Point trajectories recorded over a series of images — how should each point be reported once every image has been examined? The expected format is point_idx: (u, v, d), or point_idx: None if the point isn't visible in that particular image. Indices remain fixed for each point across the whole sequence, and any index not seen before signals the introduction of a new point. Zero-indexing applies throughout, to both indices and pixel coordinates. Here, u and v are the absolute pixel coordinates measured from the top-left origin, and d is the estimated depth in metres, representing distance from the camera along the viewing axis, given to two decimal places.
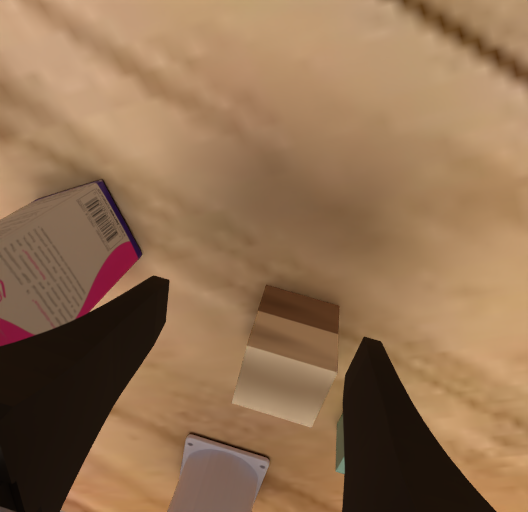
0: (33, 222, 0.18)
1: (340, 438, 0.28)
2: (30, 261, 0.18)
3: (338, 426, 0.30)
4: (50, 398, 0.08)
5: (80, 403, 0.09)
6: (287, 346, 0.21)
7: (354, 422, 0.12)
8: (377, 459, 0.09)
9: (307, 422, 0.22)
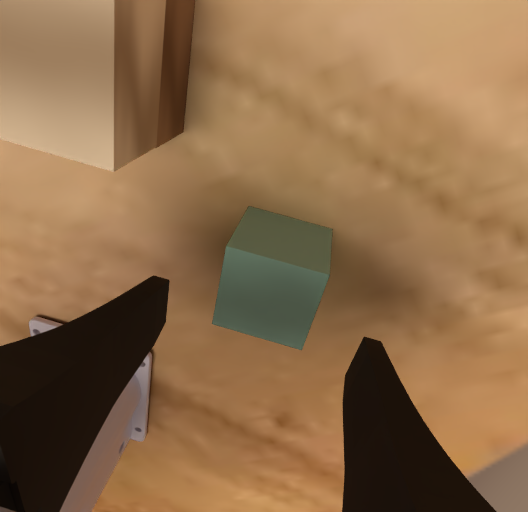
0: None
1: None
2: None
3: None
4: (50, 398, 0.08)
5: (80, 403, 0.09)
6: None
7: (354, 422, 0.12)
8: (377, 459, 0.09)
9: (102, 155, 0.11)
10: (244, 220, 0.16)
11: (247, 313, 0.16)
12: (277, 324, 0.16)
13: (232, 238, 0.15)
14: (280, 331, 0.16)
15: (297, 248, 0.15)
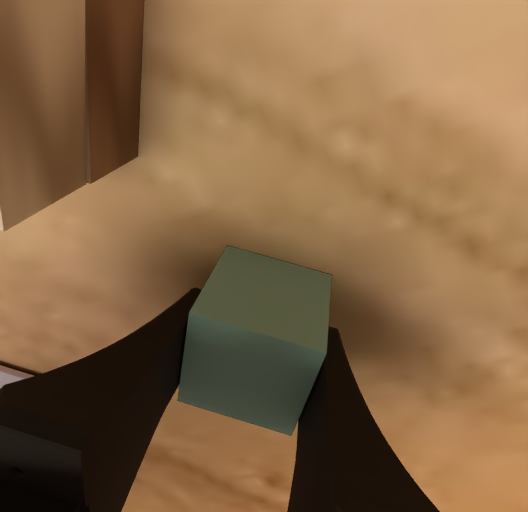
0: None
1: None
2: None
3: None
4: (119, 420, 0.08)
5: (138, 421, 0.09)
6: None
7: (306, 407, 0.12)
8: (317, 441, 0.09)
9: None
10: (218, 269, 0.13)
11: (221, 391, 0.12)
12: (259, 405, 0.12)
13: (199, 299, 0.11)
14: (263, 413, 0.12)
15: (286, 309, 0.12)
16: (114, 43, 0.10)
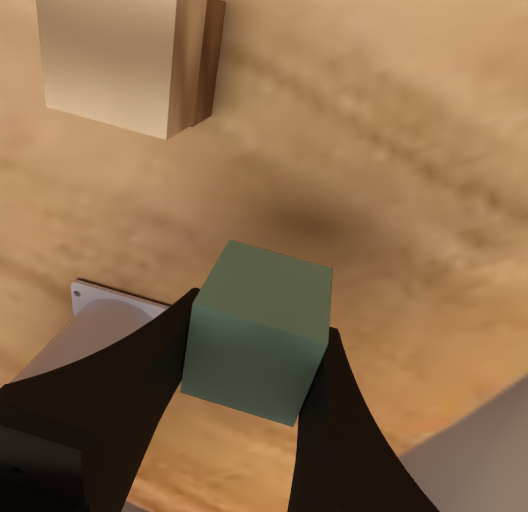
0: None
1: None
2: None
3: None
4: (119, 420, 0.08)
5: (138, 421, 0.09)
6: None
7: (306, 407, 0.12)
8: (317, 440, 0.09)
9: (158, 127, 0.14)
10: (221, 262, 0.13)
11: (224, 382, 0.12)
12: (261, 396, 0.12)
13: (202, 291, 0.11)
14: (265, 404, 0.12)
15: (288, 301, 0.12)
16: (210, 40, 0.16)
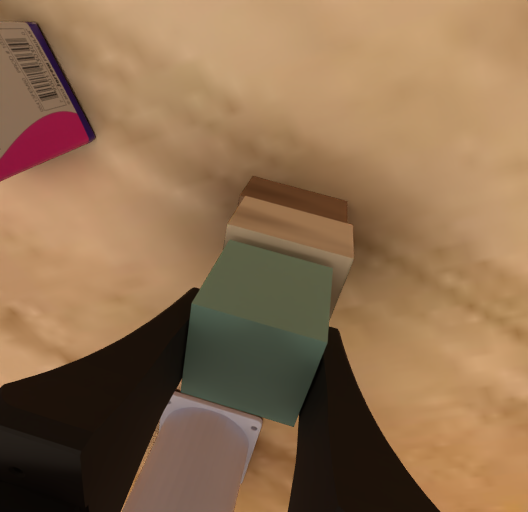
0: None
1: None
2: None
3: None
4: (118, 420, 0.08)
5: (138, 421, 0.09)
6: (283, 229, 0.15)
7: (306, 407, 0.12)
8: (317, 441, 0.09)
9: None
10: (220, 262, 0.13)
11: (224, 382, 0.12)
12: (261, 396, 0.12)
13: (201, 290, 0.11)
14: (266, 404, 0.12)
15: (287, 301, 0.12)
16: None
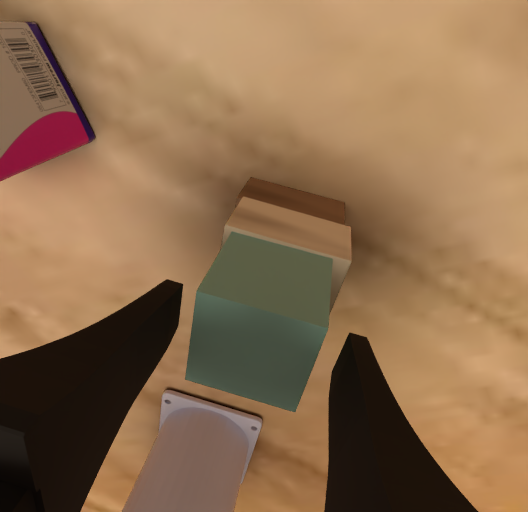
0: None
1: None
2: None
3: None
4: (73, 405, 0.08)
5: (99, 409, 0.09)
6: (281, 231, 0.15)
7: (338, 417, 0.12)
8: (357, 453, 0.09)
9: None
10: (223, 252, 0.13)
11: (227, 369, 0.13)
12: (264, 382, 0.13)
13: (206, 279, 0.12)
14: (268, 390, 0.13)
15: (288, 289, 0.12)
16: None
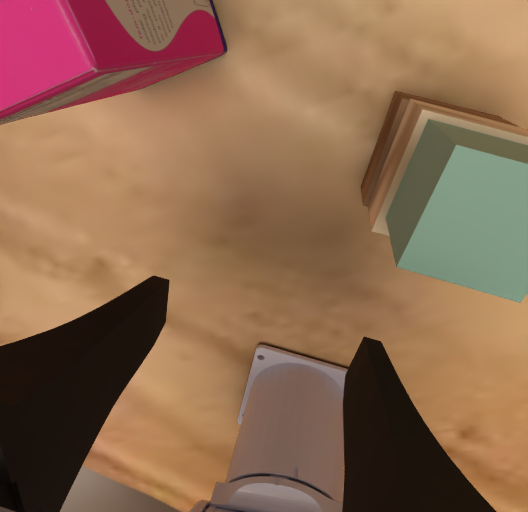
0: None
1: (402, 213, 0.13)
2: None
3: (391, 212, 0.15)
4: (50, 398, 0.08)
5: (80, 403, 0.09)
6: (475, 121, 0.14)
7: (354, 421, 0.12)
8: (377, 459, 0.09)
9: None
10: (442, 128, 0.12)
11: (456, 249, 0.11)
12: (496, 265, 0.11)
13: (453, 139, 0.11)
14: (497, 275, 0.12)
15: None
16: None
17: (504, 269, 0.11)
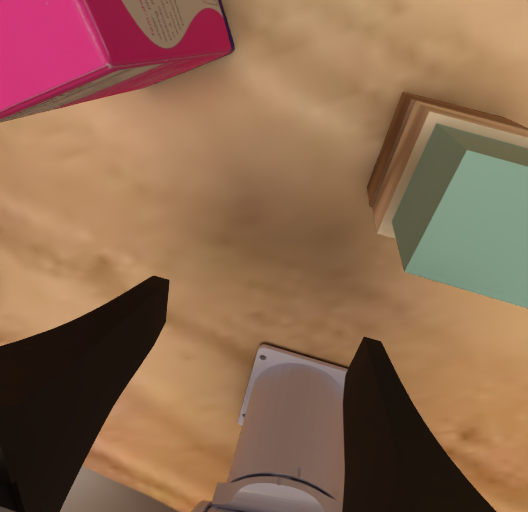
0: None
1: (409, 218, 0.13)
2: None
3: (398, 216, 0.15)
4: (50, 398, 0.08)
5: (80, 403, 0.09)
6: (482, 123, 0.14)
7: (354, 421, 0.12)
8: (377, 459, 0.09)
9: None
10: (450, 133, 0.12)
11: (464, 255, 0.11)
12: (505, 270, 0.11)
13: (463, 144, 0.11)
14: (505, 281, 0.12)
15: None
16: None
17: (513, 275, 0.11)
